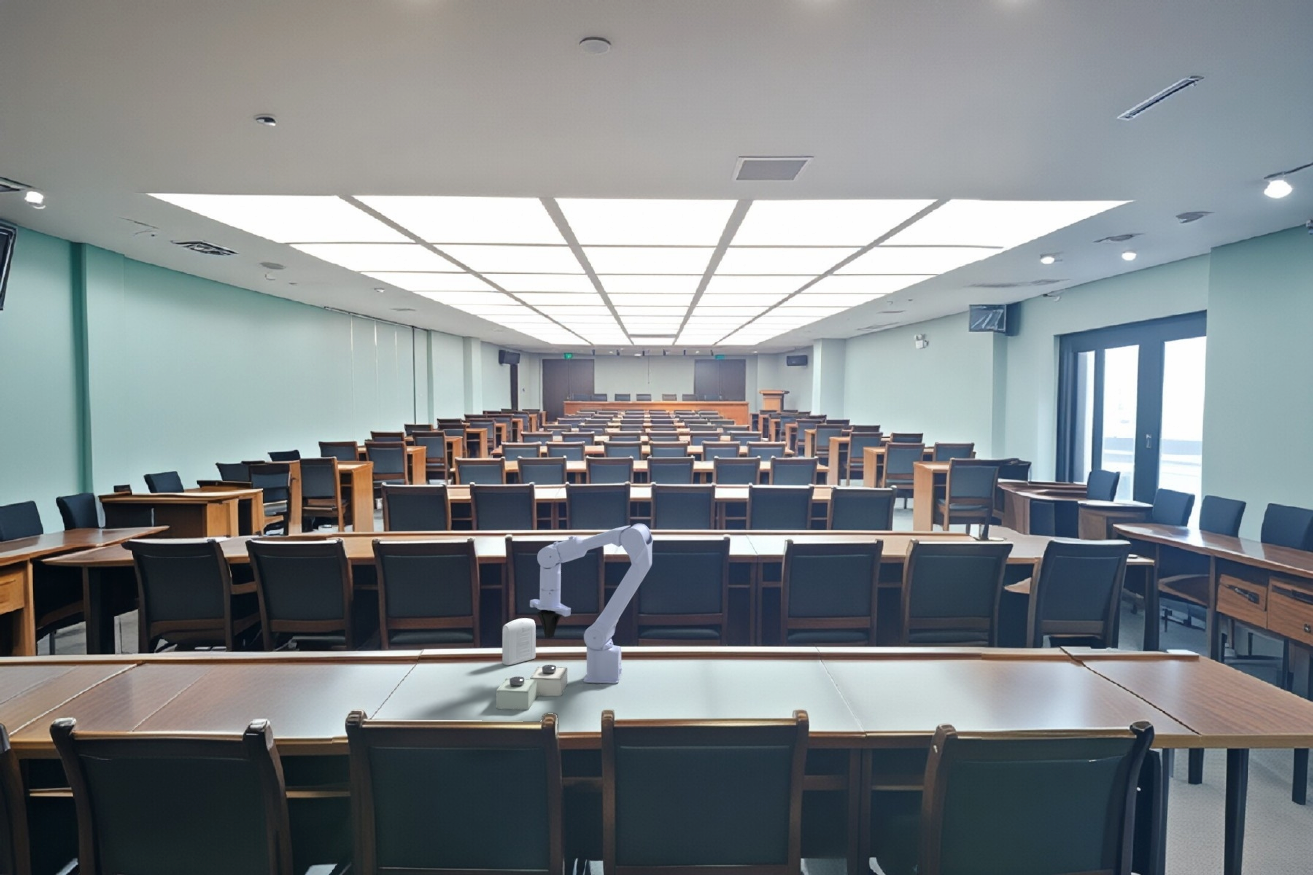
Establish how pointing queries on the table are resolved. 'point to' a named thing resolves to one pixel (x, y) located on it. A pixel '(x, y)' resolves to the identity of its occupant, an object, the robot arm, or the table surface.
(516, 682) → the plunger
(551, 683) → the white square block
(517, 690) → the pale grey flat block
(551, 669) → the plunger
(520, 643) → the white rounded slab
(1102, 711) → the table surface
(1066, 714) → the table surface
